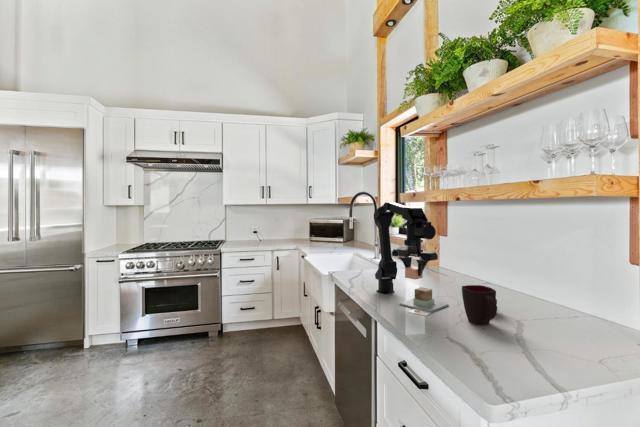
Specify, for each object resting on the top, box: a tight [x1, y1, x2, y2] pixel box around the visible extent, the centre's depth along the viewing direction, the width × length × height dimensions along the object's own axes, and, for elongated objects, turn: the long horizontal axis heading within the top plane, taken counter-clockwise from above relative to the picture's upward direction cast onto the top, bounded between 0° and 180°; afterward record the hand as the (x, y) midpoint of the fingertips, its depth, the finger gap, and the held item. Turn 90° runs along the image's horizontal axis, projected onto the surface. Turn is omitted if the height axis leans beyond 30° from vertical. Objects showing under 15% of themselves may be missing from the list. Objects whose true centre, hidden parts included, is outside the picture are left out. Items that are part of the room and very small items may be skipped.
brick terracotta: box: [404, 266, 424, 280], centre depth 133 cm, size 5×5×4 cm
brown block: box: [414, 286, 433, 301], centre depth 133 cm, size 5×5×4 cm
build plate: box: [399, 297, 449, 314], centre depth 133 cm, size 14×14×3 cm
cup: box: [461, 284, 498, 326], centre depth 111 cm, size 10×14×12 cm
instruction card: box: [408, 308, 431, 317], centre depth 124 cm, size 7×5×1 cm
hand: (413, 275), depth 133 cm, fingers closed on brick terracotta, 5 cm apart
